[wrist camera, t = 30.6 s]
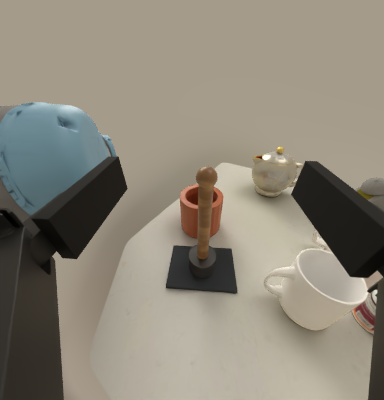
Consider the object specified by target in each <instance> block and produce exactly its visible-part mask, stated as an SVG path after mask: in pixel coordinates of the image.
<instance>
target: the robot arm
mask: <svg viewBox="0 0 384 400" xmlns="http://www.w3.org/2000/svg"><path fill="white" fill-rule="evenodd" d="M126 190H127V185H126V182H125V178H124V175H123V171H122V168H121V164H120V160H119V157H117V156H116V153H115V149H114V146H113V144H112V142H111V139H110V137H109V136H107V135H101V134H100V133H99V132H98V129H97V127H96V125H95V123H94V122H93V120H92V119H91V118H90V117H89V116H88V115H87V114H86V113H85V112H83V111H82V110H80V109H78V108H76V107H74V106H70V105H53V104H49V103H41V102H32V103H26V104H21V105H16V106H0V400H64V396H63V380H62V364H61V349H60V334H59V333H60V332H59V316H58V302H57V301H58V300H57V285H56V269H55V260H54V258H53V257H52V256H53V255H54V253H55V252H56V251H57V252H58V253H59V254H60V255H61V257H62V258H70V259H77V258H78V257H79V255H80V254H81V252H82V251H83V250H84V248H85V247H86V246H87V244H88V243H89V241H90V240H91V239H92V237H93V236H94V234H95V233H96V231H97V230H98V229H99V227H100V226H101V225H102V223H103V222H104V220H105V219H106V218H107V216H108V215H109V213H110V212H111V211H112V209H113V208H114V207H115V205H116V204H117V202H118V201H119V200H120V198H121V197H122V196H123V194H124V193H125V191H126ZM291 195H292V196H293V198H294V199H295V201H296V202H297V203H298V205H299V206H300V208H301V209H302V210H303V212H304V213H305V215H306V216H307V217H308V219H309V220H310V222H311V223H312V224H313V226H314V227H315V229H316V230H317V231H318V233H319V234H320V236H321V237H322V238H323V240H324V241H325V243H326V244H327V245H328V247H329V248H330V250H331V251H332V252H333V254H334V255H335V257H336V258H337V259H338V261H339V262H340V264H341V265H342V266H343V268H344V269H345V271H346V272H347V273H348V275H349V276H350V277H357V278H369V277H370V276H371V275H372V274H374V273H375V272H376V271H378V272H379V273H380V274H381V275H382V276H383V278H382V279H380V280H379V281H378V282H376V283H375V284H374V285H372V286H371V287H370V288H369V289H368V290H367V292H369V293H371V292H372V291H374V290H377V294H376V295H375V296H376V297H377V300H376V312H375V324H374V336H373V348H372V360H371V372H370V384H369V396H368V400H384V210H382V209H381V208H380V207H378V206H377V205H375V204H373V203H371V202H370V201H368V200H367V199H366V198H364V197H363V196H362V195H360V194H359V193H358V192H356V191H355V190H354V189H353V188H351V187H350V186H349V185H347V184H346V183H345V182H343V181H342V180H341V179H340V178H338V177H337V176H336V175H334V174H333V173H332V172H330V171H329V170H328V169H326V168H325V167H324V166H323V165H321V164H320V163H318V162H317V161H305V164H304V166H303V168H302V170H301V173H300V175H299V177H298V180H297V182H296V184H295V187H294V189H293V191H292V194H291Z"/></svg>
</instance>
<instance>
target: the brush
mask: <svg viewBox="0 0 384 400" xmlns="http://www.w3.org/2000/svg"><path fill="white" fill-rule="evenodd" d="M196 180H197V183H198V184H199V189H198V238H197V245H196V246H194V247H193V248H192V249H191V250H190V252H189V269H190V271H191V273H192V274H193V275H194V276H195V277H198V278H207V277H209V276H211V275H212V274H213V272H214V270H215V263H216V253H215V251H214V249H213V248H212V247H210V246H209V237H210V225H211V213H212V202H213V190H214V185H215V183H216V182H217V173H216V171H215V170H214V169H213V168H211V167H207V166H206V167H202V168H200V169H199V170H198V172H197V174H196Z"/></svg>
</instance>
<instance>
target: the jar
mask: <svg viewBox="0 0 384 400" xmlns="http://www.w3.org/2000/svg"><path fill="white" fill-rule="evenodd" d="M198 189H199V184H197V185H192V186H189V187H187V188H185V189H184V190H183V191H182V192H181V194H180V206H181V222H182V228H183V230H184V232H185V233H186V234H188V235H189V236H191V237H194V238H198ZM222 204H223V194H222V192H221V191H220V190H219V189H217V188H215V187H214V190H213V202H212V213H211V225H210V237H211V236H213V235H215V234H216V233H217V231H218V230H219V226H220V219H221V211H222Z"/></svg>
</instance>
